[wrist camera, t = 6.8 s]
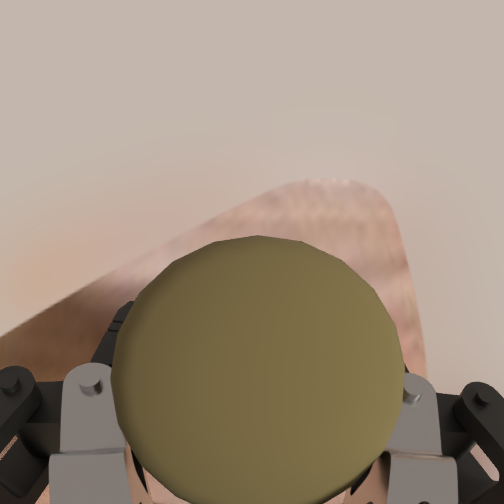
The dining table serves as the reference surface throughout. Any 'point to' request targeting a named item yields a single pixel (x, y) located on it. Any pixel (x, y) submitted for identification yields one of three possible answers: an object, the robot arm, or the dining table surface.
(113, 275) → the dining table surface
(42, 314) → the dining table surface
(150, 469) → the olive waisted cylinder
